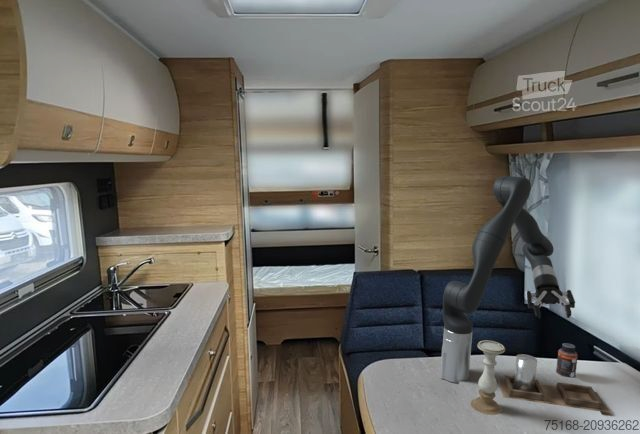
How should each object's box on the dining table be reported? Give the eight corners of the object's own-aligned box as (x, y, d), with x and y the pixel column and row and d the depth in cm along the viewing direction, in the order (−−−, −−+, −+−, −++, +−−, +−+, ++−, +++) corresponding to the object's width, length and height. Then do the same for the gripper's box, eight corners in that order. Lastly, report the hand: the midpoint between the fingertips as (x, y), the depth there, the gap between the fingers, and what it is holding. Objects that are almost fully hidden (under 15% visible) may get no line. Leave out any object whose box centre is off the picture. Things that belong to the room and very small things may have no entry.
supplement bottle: (577, 381, 151) (581, 350, 150) (558, 379, 152) (562, 348, 151) (571, 372, 157) (575, 342, 156) (553, 370, 158) (556, 340, 157)
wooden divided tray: (503, 400, 138) (503, 391, 138) (497, 381, 150) (498, 372, 149) (610, 415, 131) (611, 406, 131) (595, 394, 143) (597, 386, 142)
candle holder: (507, 412, 132) (513, 347, 129) (489, 421, 127) (495, 354, 124) (481, 398, 139) (487, 336, 136) (464, 406, 134) (469, 343, 131)
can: (515, 394, 140) (518, 361, 138) (511, 384, 146) (514, 353, 144) (535, 396, 139) (539, 364, 137) (531, 387, 144) (534, 355, 143)
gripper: (523, 274, 158) (530, 309, 146) (568, 272, 153) (579, 308, 141) (523, 288, 162) (530, 323, 150) (567, 287, 157) (577, 323, 145)
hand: (554, 316), depth 145 cm, fingers open, 8 cm apart
